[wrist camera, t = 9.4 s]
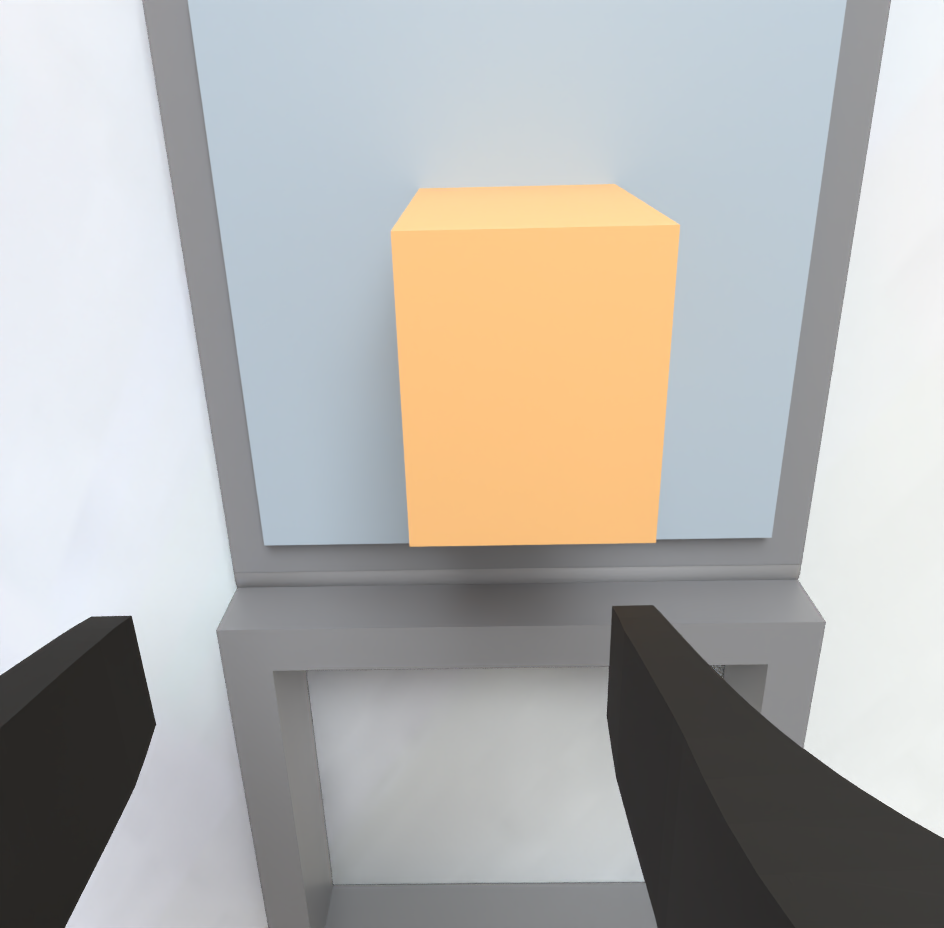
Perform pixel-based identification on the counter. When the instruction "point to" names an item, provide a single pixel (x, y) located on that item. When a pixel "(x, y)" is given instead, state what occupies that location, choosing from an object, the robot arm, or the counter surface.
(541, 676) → the counter surface
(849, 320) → the counter surface
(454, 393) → the block
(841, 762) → the counter surface
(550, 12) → the grey framed tray
